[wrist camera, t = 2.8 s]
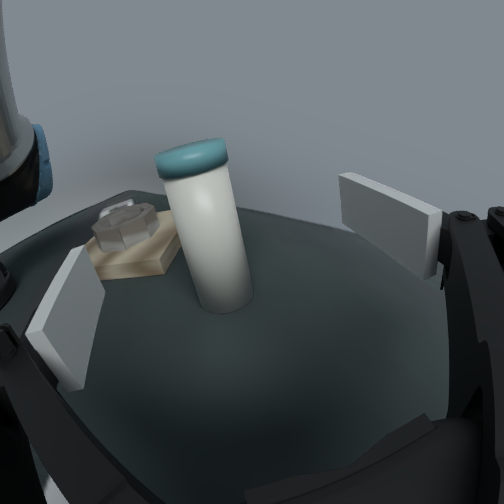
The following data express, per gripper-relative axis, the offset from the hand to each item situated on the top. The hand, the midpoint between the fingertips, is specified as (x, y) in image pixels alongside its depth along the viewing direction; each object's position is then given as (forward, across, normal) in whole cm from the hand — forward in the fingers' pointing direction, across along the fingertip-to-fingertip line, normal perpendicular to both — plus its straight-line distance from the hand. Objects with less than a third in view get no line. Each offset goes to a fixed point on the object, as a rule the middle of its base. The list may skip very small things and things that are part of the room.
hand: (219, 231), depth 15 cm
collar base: (+28, -11, -10) cm, 31 cm away
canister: (+10, 0, -10) cm, 14 cm away
